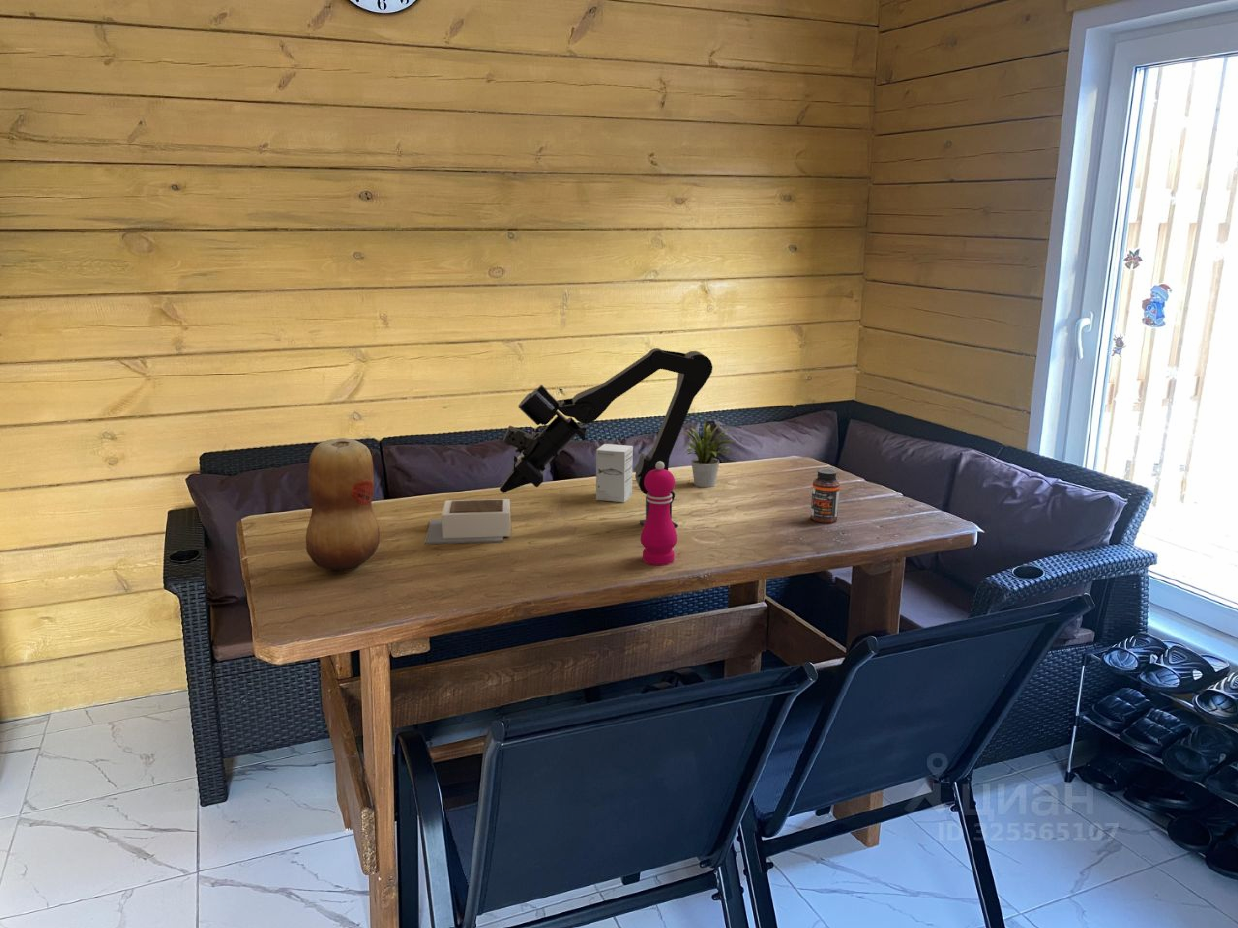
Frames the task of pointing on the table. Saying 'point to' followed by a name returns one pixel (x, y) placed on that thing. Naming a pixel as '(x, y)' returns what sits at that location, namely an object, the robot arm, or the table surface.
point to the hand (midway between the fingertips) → (501, 491)
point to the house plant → (705, 456)
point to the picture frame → (476, 518)
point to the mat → (437, 538)
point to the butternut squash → (341, 505)
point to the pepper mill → (659, 518)
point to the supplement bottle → (825, 497)
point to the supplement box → (614, 472)
